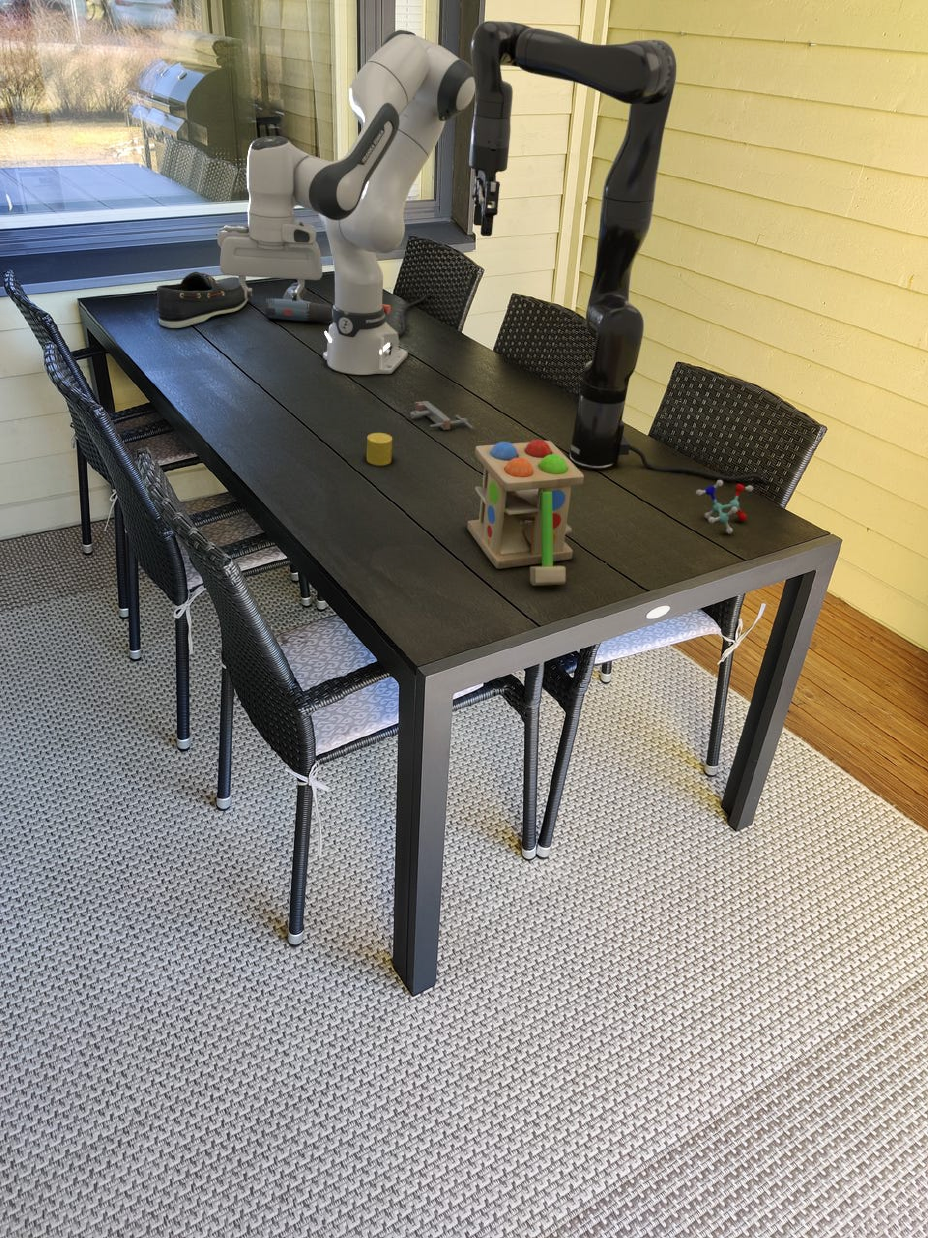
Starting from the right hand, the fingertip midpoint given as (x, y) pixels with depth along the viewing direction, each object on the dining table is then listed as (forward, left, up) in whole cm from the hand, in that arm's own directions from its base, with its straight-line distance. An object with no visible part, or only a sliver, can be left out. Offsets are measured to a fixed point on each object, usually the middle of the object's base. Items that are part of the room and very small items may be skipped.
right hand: (482, 230), depth 198 cm
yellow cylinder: (+22, +25, -39) cm, 51 cm away
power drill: (+33, -67, -39) cm, 84 cm away
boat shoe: (+60, -65, -39) cm, 96 cm away
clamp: (+7, +7, -39) cm, 40 cm away
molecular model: (-40, +52, -39) cm, 76 cm away
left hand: (+42, -2, -16) cm, 45 cm away
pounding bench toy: (0, +63, -39) cm, 74 cm away
